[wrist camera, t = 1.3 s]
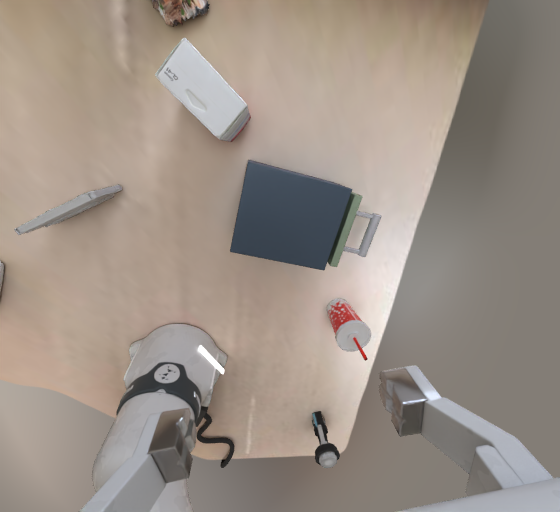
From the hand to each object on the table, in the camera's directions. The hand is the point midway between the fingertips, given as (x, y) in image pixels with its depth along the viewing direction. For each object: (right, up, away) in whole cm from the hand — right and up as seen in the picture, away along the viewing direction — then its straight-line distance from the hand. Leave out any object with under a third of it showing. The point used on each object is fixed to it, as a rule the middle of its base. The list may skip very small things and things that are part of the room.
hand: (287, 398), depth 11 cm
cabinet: (0, +14, +33) cm, 36 cm away
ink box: (-9, +27, +27) cm, 39 cm away
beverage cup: (+11, -5, +42) cm, 44 cm away
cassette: (-30, +14, +30) cm, 45 cm away
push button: (+9, -35, +54) cm, 65 cm away
